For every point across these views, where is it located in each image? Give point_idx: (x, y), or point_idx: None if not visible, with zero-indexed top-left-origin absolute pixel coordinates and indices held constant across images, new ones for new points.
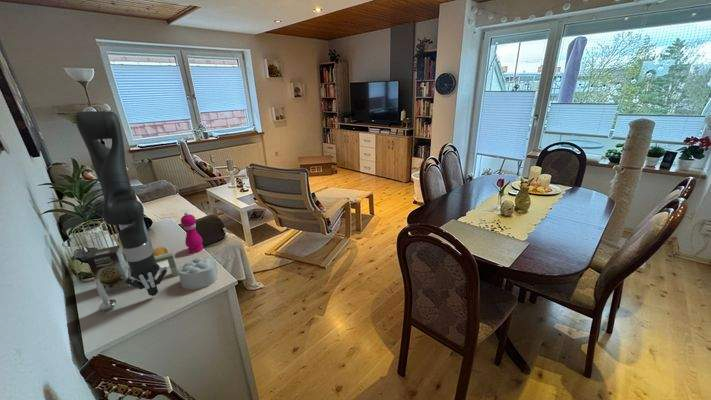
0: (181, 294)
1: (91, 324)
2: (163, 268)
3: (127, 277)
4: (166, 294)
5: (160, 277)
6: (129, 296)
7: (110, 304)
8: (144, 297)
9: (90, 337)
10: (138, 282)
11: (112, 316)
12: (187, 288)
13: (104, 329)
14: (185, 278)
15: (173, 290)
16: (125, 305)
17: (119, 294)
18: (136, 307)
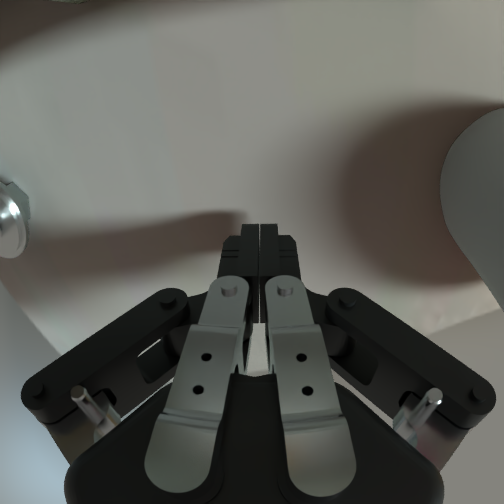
0: (412, 273)
1: (12, 283)
2: (458, 442)
3: (25, 405)
4: (335, 224)
5: (377, 397)
6: (67, 112)
7: (12, 244)
8: (177, 177)
9: (58, 348)
10: (139, 342)
11: (62, 276)
12: (455, 241)
13: (80, 338)
14: (500, 306)
15: (383, 201)
16: (81, 212)
17: (7, 64)
18: (156, 266)
